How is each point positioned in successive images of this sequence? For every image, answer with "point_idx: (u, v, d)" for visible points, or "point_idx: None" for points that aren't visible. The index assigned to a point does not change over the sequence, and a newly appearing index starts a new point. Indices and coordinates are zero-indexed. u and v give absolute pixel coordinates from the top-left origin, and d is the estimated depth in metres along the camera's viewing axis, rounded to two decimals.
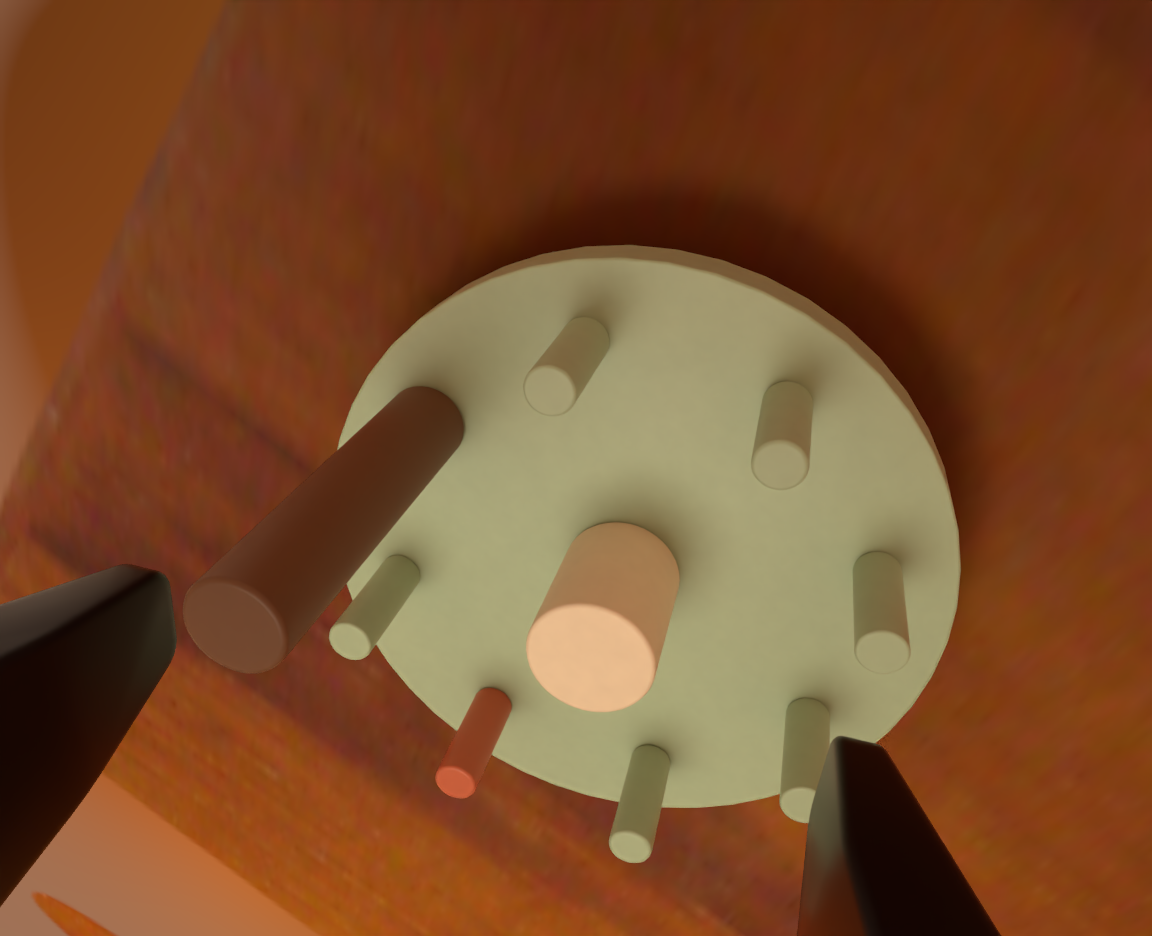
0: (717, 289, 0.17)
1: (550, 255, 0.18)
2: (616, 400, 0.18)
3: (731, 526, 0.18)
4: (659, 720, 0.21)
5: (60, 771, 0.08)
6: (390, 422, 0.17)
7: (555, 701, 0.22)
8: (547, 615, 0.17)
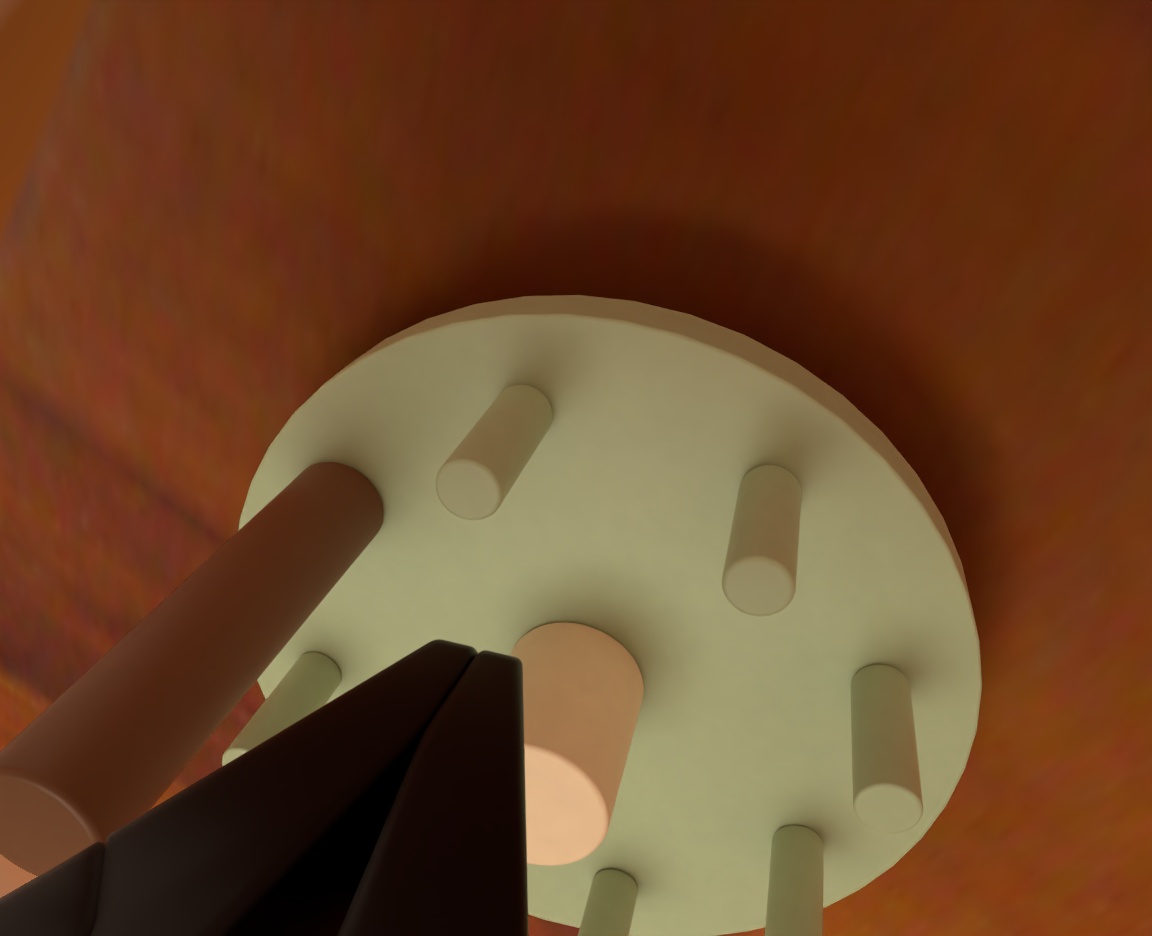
0: (682, 353, 0.13)
1: (481, 307, 0.14)
2: (564, 482, 0.15)
3: (704, 630, 0.15)
4: (624, 842, 0.18)
5: None
6: (282, 515, 0.14)
7: None
8: None
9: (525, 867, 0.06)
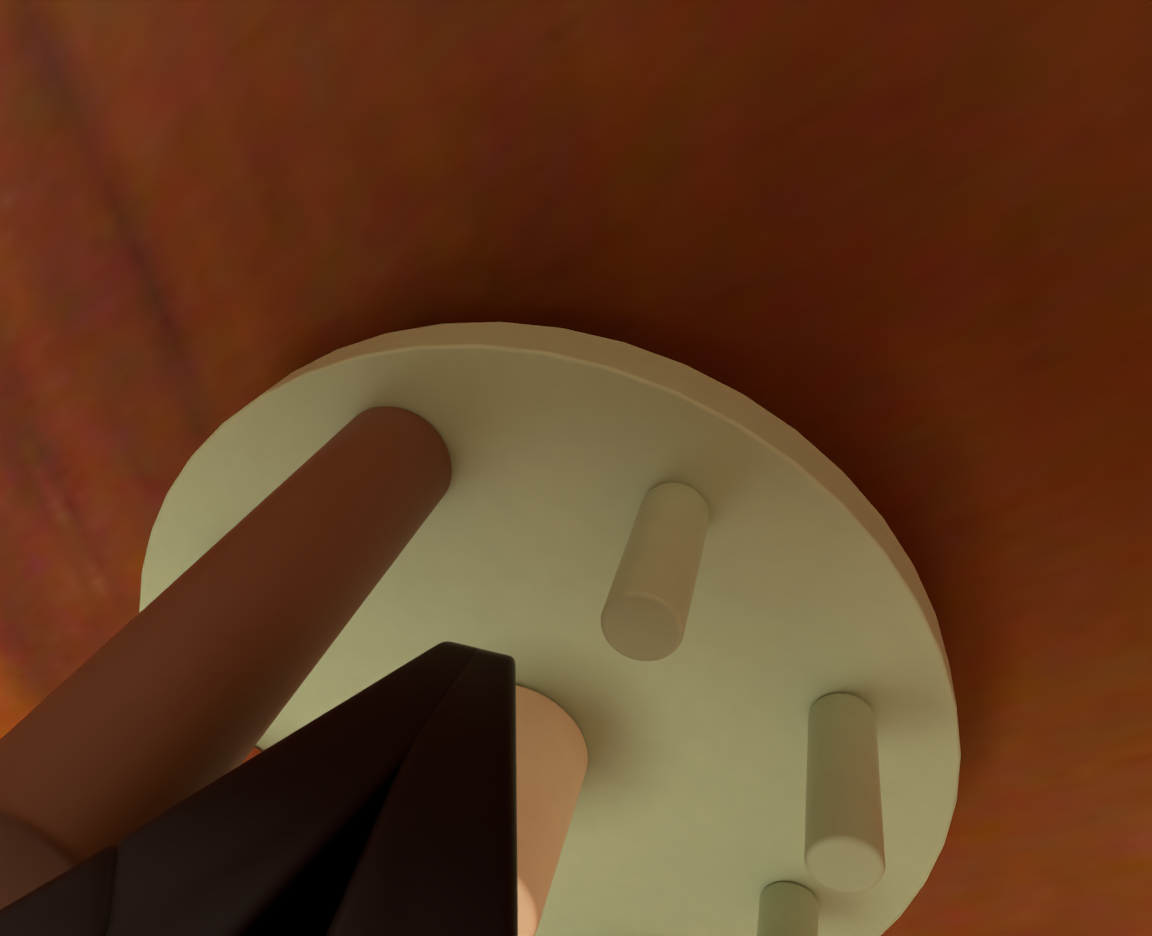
0: (872, 568, 0.12)
1: (699, 381, 0.12)
2: None
3: (675, 778, 0.14)
4: None
5: None
6: (374, 485, 0.11)
7: None
8: None
9: (515, 864, 0.06)
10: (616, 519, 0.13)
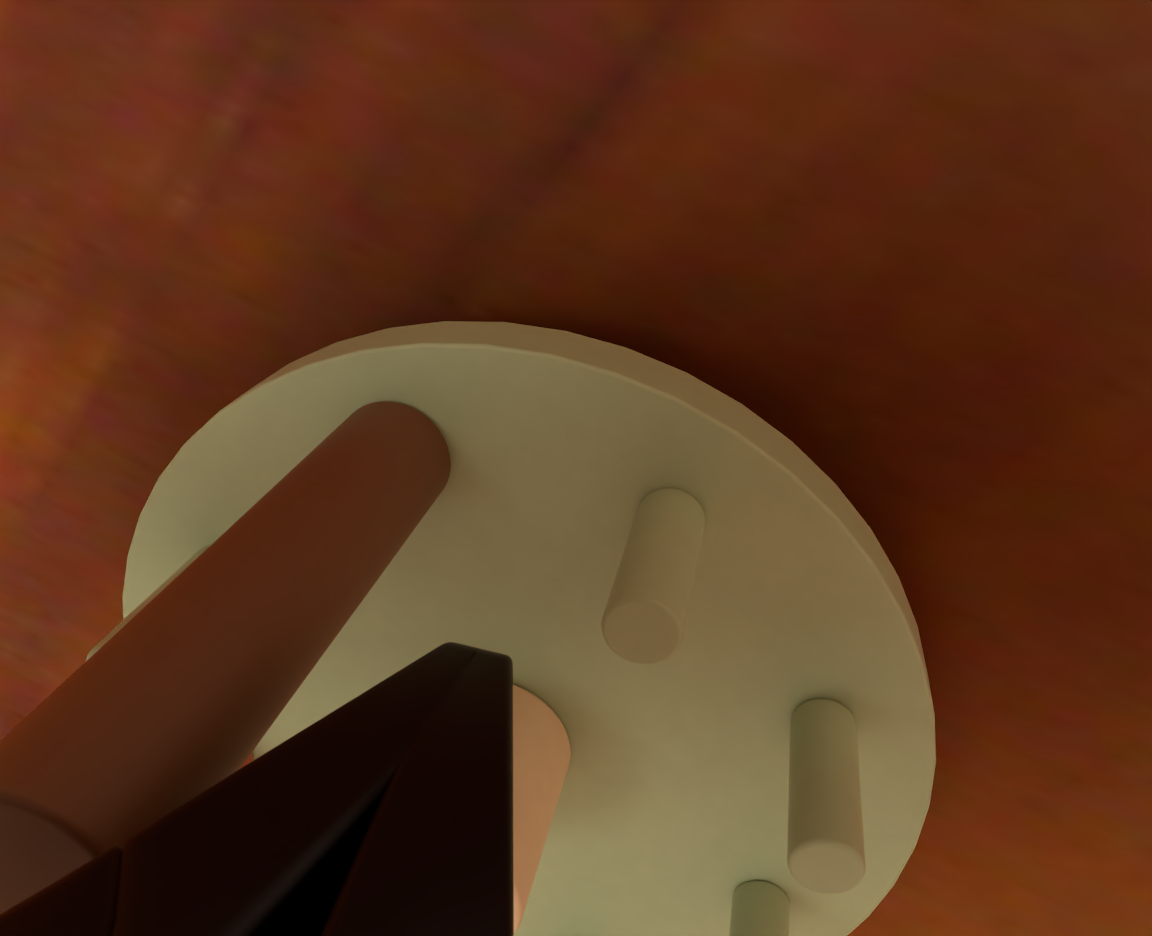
0: (861, 579, 0.12)
1: (700, 389, 0.12)
2: None
3: (655, 777, 0.15)
4: None
5: None
6: (378, 480, 0.11)
7: None
8: None
9: (511, 863, 0.06)
10: (612, 522, 0.13)
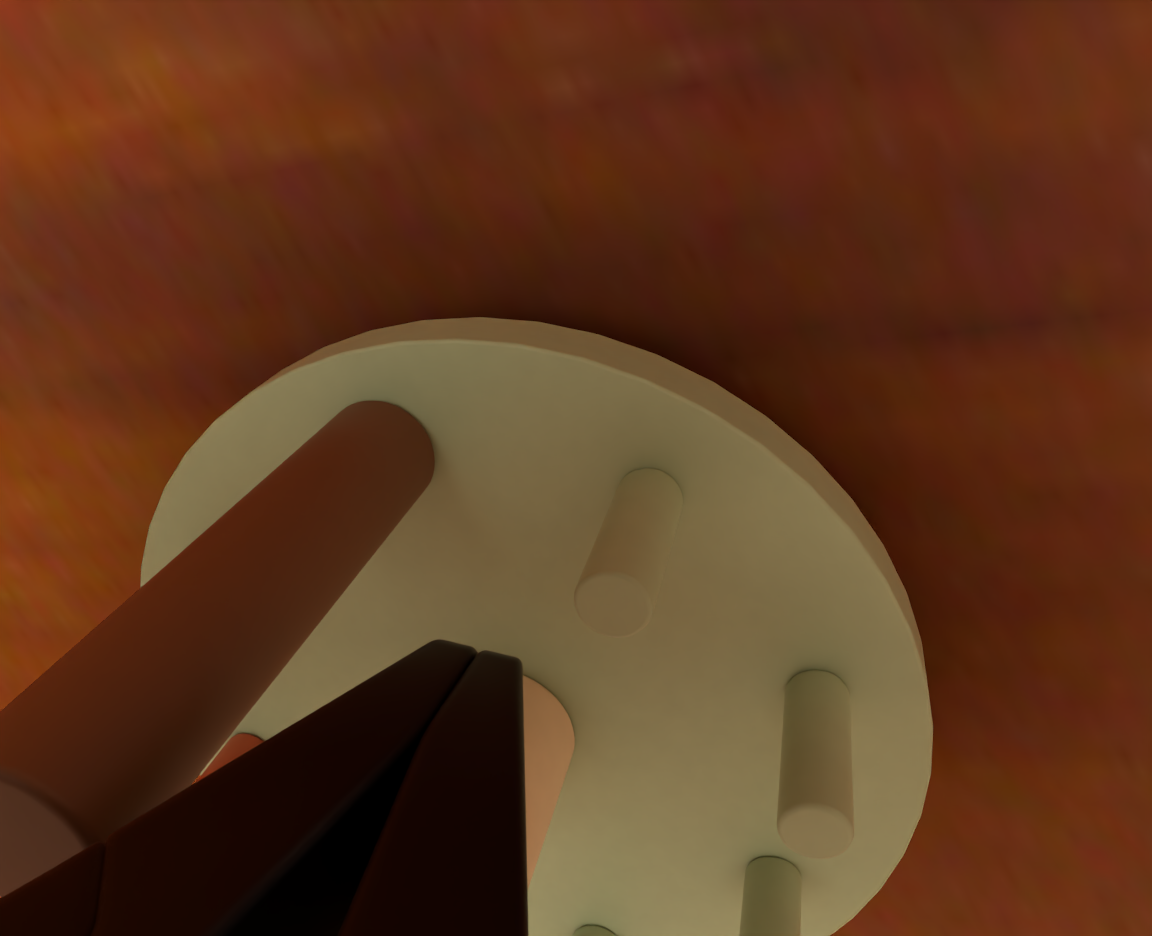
0: (840, 547, 0.12)
1: (670, 370, 0.13)
2: None
3: (659, 757, 0.15)
4: None
5: None
6: (357, 474, 0.11)
7: None
8: None
9: (524, 867, 0.06)
10: (594, 505, 0.13)
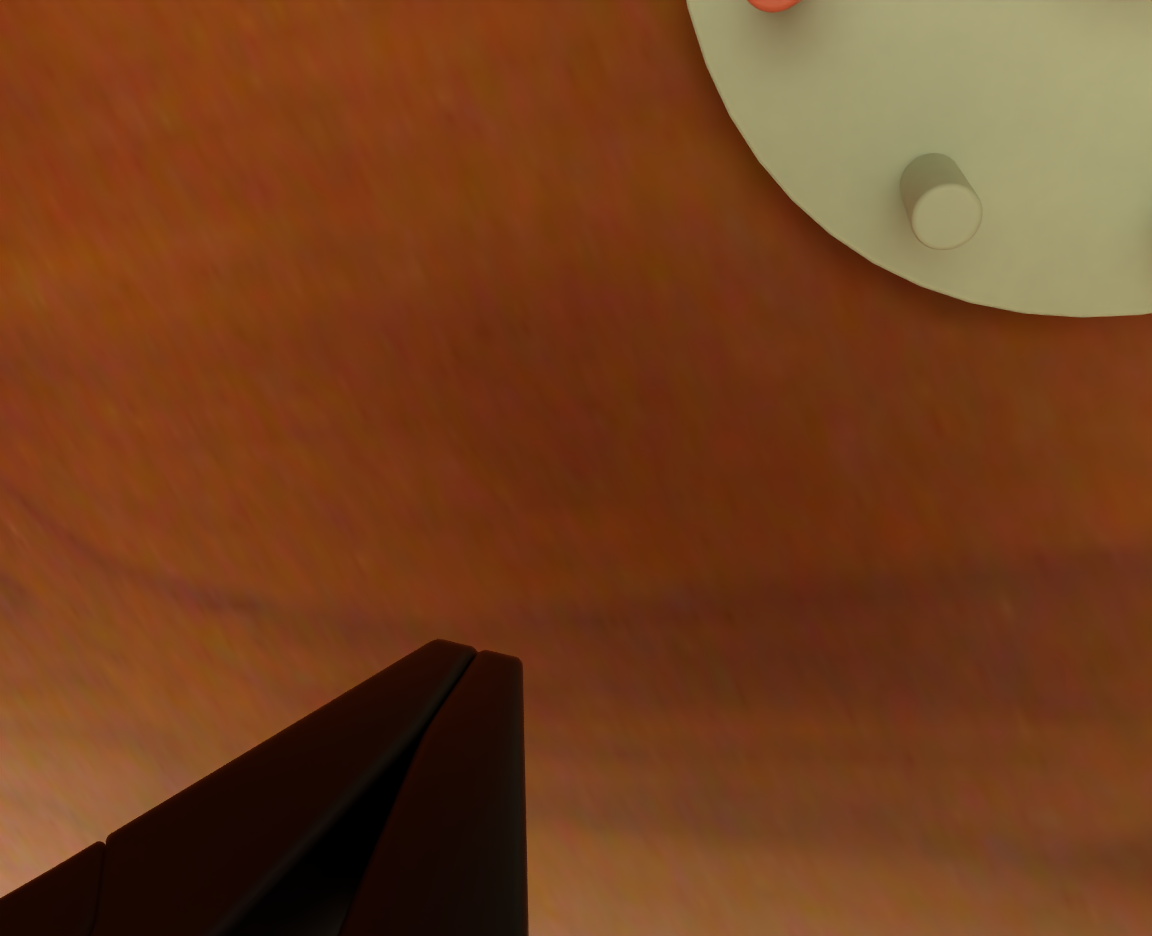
0: None
1: None
2: None
3: None
4: (994, 125, 0.14)
5: None
6: None
7: (875, 20, 0.14)
8: None
9: (525, 867, 0.06)
10: None
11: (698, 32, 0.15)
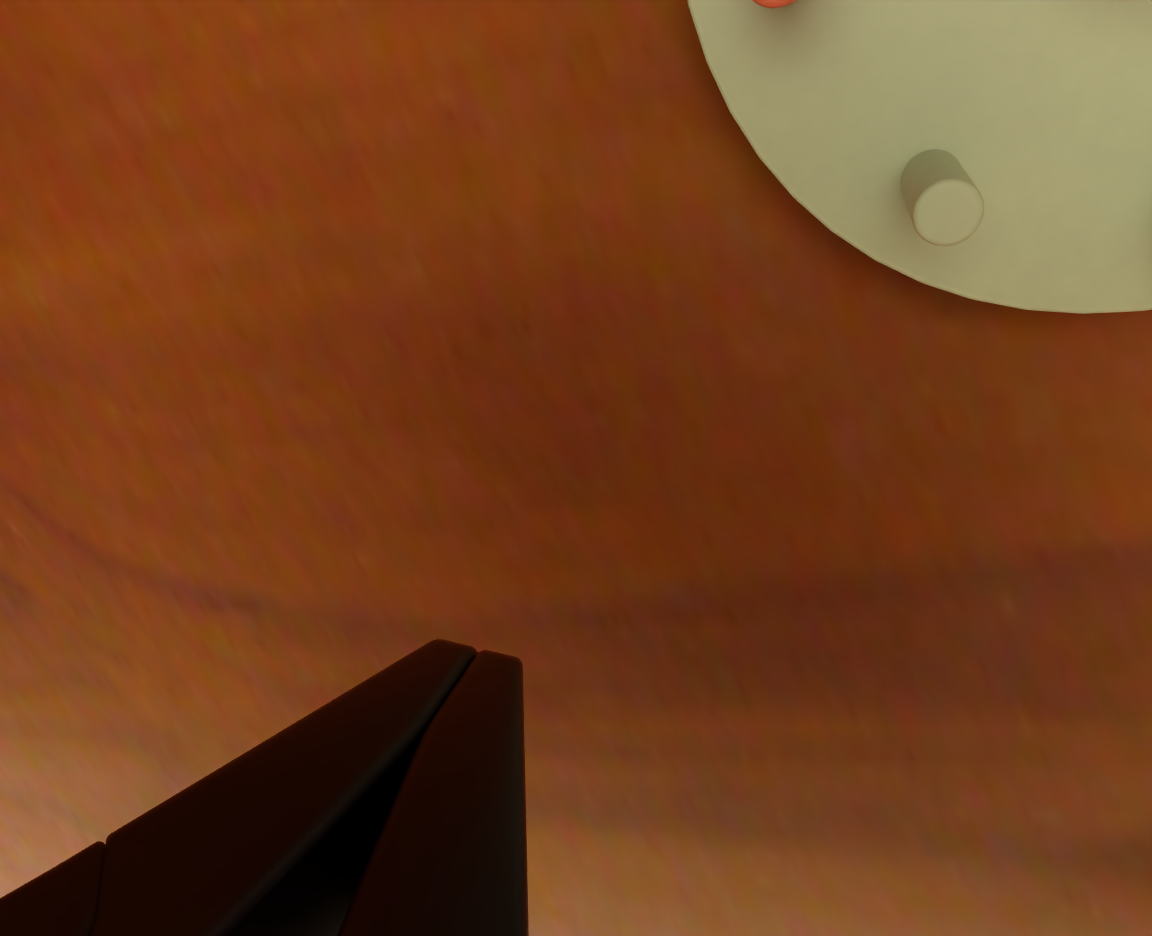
0: None
1: None
2: None
3: None
4: (995, 121, 0.14)
5: None
6: None
7: (876, 16, 0.14)
8: None
9: (525, 867, 0.06)
10: None
11: (699, 29, 0.15)
